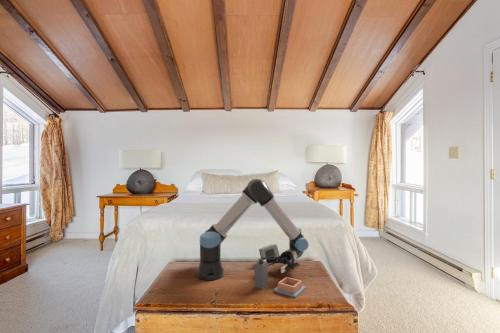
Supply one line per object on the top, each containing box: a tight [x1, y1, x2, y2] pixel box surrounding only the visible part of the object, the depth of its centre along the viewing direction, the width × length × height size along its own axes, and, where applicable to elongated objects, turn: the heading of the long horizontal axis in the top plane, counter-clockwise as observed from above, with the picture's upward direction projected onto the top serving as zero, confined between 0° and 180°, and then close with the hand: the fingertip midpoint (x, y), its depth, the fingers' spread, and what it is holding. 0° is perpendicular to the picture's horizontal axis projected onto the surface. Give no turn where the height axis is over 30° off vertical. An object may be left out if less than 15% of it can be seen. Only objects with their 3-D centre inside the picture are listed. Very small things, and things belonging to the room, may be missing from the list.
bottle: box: [253, 258, 269, 291], centre depth 142 cm, size 5×5×14 cm
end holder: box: [273, 276, 307, 299], centre depth 138 cm, size 12×12×4 cm
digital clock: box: [258, 243, 281, 266], centre depth 176 cm, size 16×9×11 cm, turn 123°
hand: (270, 267), depth 149 cm, fingers open, 13 cm apart
